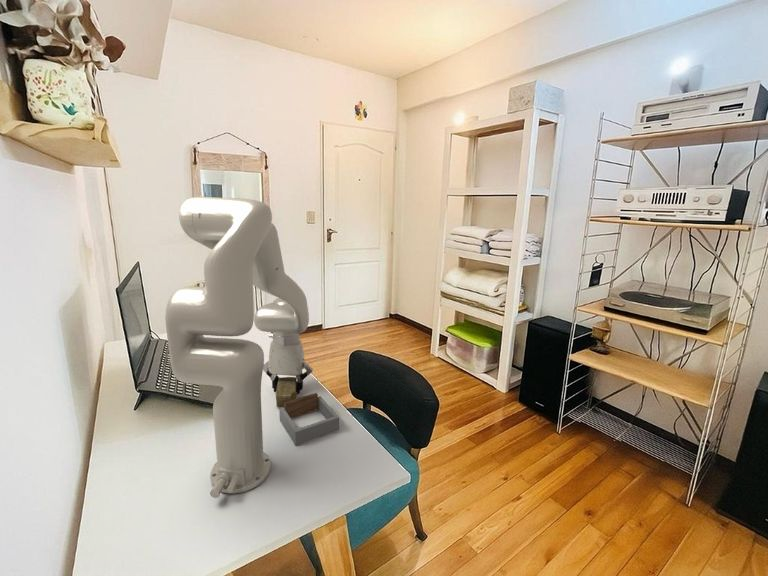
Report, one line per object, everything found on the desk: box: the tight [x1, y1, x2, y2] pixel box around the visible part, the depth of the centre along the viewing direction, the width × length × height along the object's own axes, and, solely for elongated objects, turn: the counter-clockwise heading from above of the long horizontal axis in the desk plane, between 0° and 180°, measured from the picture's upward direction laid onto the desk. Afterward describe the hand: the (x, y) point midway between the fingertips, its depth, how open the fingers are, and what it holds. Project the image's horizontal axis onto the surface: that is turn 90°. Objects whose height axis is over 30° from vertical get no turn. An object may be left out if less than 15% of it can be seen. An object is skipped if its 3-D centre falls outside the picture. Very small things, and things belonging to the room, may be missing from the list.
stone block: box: [275, 376, 298, 408], centre depth 109 cm, size 6×12×5 cm, turn 13°
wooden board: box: [284, 392, 319, 419], centre depth 101 cm, size 1×10×5 cm, turn 125°
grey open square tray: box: [278, 395, 341, 447], centre depth 97 cm, size 12×12×4 cm
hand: (287, 390), depth 113 cm, fingers closed on stone block, 6 cm apart
